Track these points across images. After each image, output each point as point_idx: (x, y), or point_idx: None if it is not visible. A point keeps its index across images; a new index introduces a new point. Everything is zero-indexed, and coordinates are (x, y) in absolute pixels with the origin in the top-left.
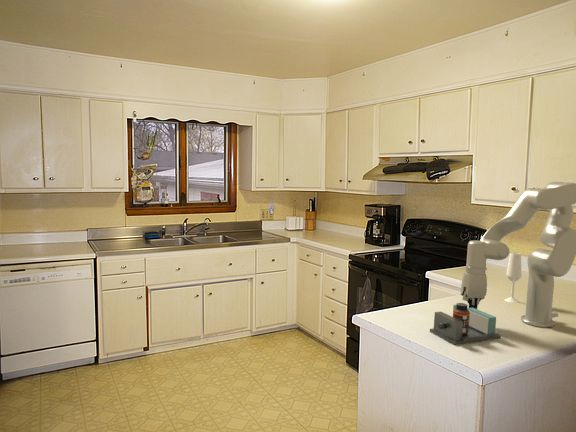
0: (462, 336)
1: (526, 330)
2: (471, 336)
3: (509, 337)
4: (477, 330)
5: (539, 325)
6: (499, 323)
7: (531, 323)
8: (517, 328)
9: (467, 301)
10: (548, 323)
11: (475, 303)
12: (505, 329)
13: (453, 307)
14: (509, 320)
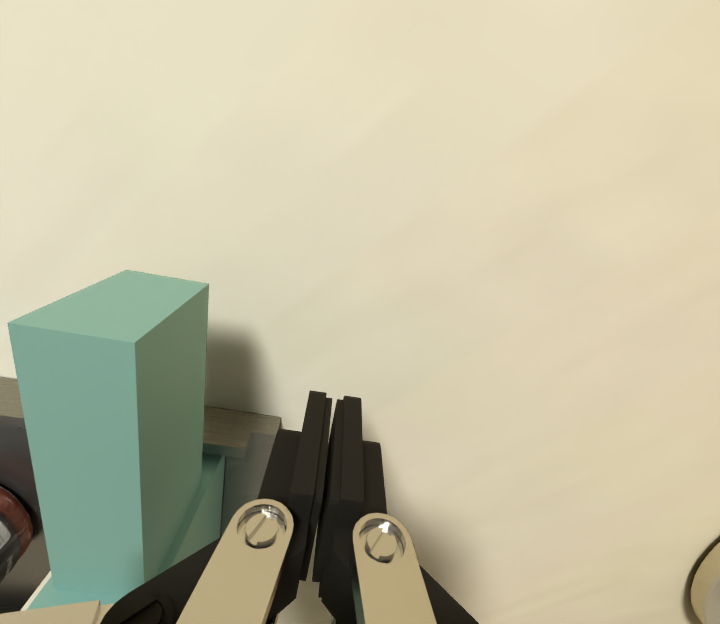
0: None
1: (551, 604)
2: (18, 581)
3: (325, 619)
4: None
5: (702, 622)
6: (544, 470)
7: (701, 595)
8: (542, 569)
9: (172, 574)
10: None
11: (328, 596)
12: (446, 549)
13: (52, 305)
14: (695, 466)
